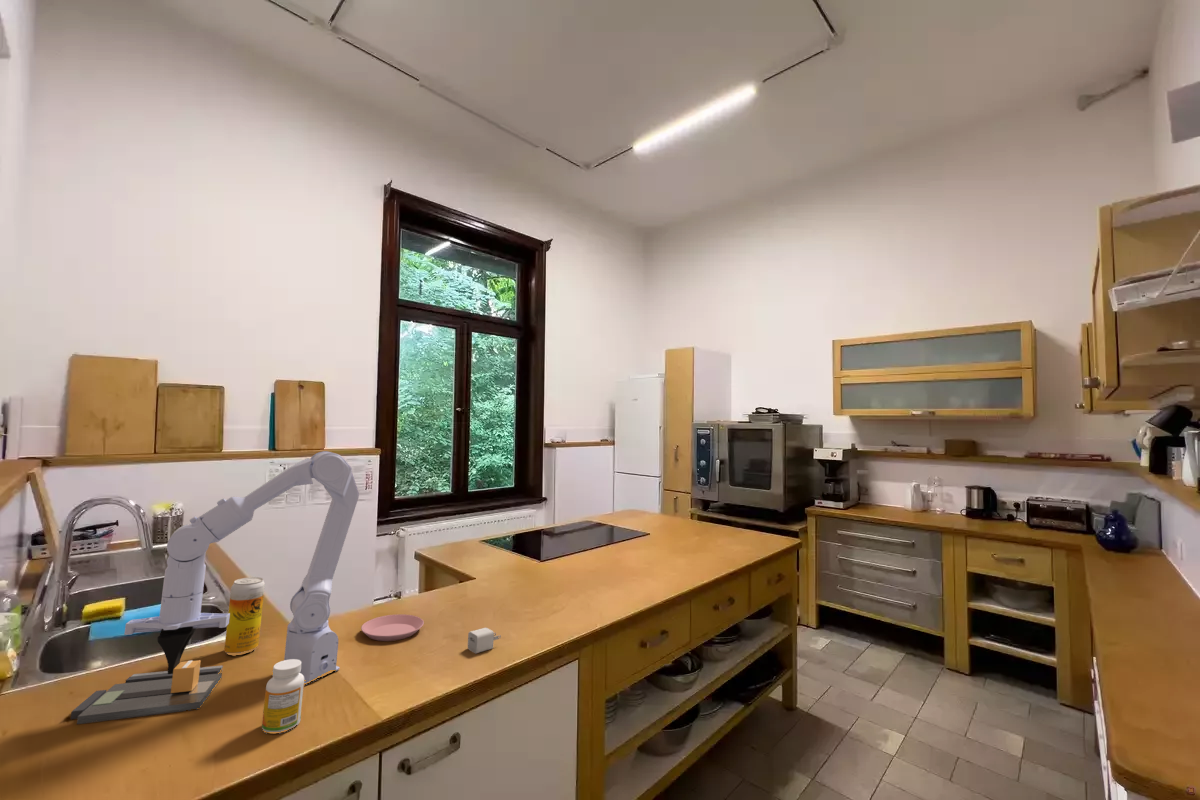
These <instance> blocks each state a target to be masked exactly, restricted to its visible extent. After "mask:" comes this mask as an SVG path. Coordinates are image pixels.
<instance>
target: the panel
mask: <svg viewBox="0 0 1200 800" xmlns="http://www.w3.org/2000/svg"><path fill="white" fill-rule="evenodd" d="M222 676H223V674H222V672H221V673H219V674H209V675H200V676H199V680H198V684H197V685H196V686H195V687H194V689H193V690H192V691H185V692H177V693H171V686H172V678H171V679H161V680H151V681H142V682H132V683H115V684H113V685H112V686H111V687H110V688H108V689H107V691H106V692H105V693H104V694H103V695H102V696H101V697H100V698H98V699H97V700H96V701H95V702H94V703H93V704H92V705H90V706H89V707H88V708H87V709H86V710H85V711H83V712H82V713H81V714H80V715H79V716H78V718H77V720H76V725H82V724H89V723H98V722H99V723H100V722H107V721H114V720H121V719H129V718H131V719H132V718H139V717H146V716H154V715H163V714H170V713H179V712H187V711H186V710H188V711H192V710H191V709H196V710H198V709H197V708H200V706H201V705H202V704H203V702H204V701H205V700H207V699H208V698H209V697H210V695H211V694H212V693H211V691H212V689H213V688H214V687H215V685H216V684H217V683H218V681H219V680H220V678H221V679H222ZM218 684H219V683H218ZM215 688H216V687H215ZM212 692H213V691H212ZM210 693H211V694H210ZM209 694H210V695H209ZM208 696H209V697H208ZM207 697H208V698H207ZM206 698H207V699H206ZM205 702H206V701H205ZM205 702H204V703H205ZM203 705H204V704H203ZM203 705H202V706H203ZM202 706H201V707H202ZM200 709H201V708H200Z"/></svg>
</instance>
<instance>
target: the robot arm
mask: <svg viewBox="0 0 1200 800" xmlns="http://www.w3.org/2000/svg"><path fill="white" fill-rule="evenodd" d="M313 479H314V480H316V481H317V482H318V483H320V484H321V485H322V486H323V488H324V489H325V490H326V493H328V495H329V497H330V498H331V501H330V504H329V508H328V510H327V513H326V516H325V518H324V522H323V525H322V529H321V531H320V535H319V536H318V540H317V544H316V547H315V549H314V553H313V555H312V558H311V561H310V563H309V564H310V565H309V568H308V570H307V573H306V575H305V576H304V578H303V580H302V583H301V585H300V587H299V589H298V590H297V591H296V592H295V593H294V595H293V596H292V598H291V599H290V602H289V603H290V604H289V608H290V611H291V613H292V615H293V617H292V620H290V622H289V623H288V624H287V629H286V637H285V638H286V639H285V648H284V649H285V650H284V660H289V659H297V660H300V661H301V671H300V672H299V673H301V674H302V675H303V676H304V680H306V681H304V683H307V682H309V681H311V680H313V679H315V678H317V677H318V676H321V675H322V674H324V673H326V672H328V671H330V670H336V671H335V672H337V671H339V670H340V666H339V665H337V662H338V651H339V637H338V635H337V633H336V632H335V631H333V630H331V628H330V626H329V622H330V621H329V618H330V615H331V605H330V598H331V594H332V589H333V588H332V587H333V579H334V576H335V572H336V569H337V566H338V563H339V560H340V558H341V555H342V551H343V549H344V548H343V547H344V544H345V541H346V539H347V538H346V537H347V535H348V532H349V528H350V525H351V522H352V520H353V516H354V513H355V510H356V507H357V503H358V501H359V496H360V491H359V489H358V486H357V483H356V480H355V476H354V474H353V468H352V466H351V465H350V464H349V463H348V462H347V460H346V459H345V458H344V457H343V456H342V455H340V454H338V453H335V452H333V451H327V450H325V451H324V450H323V451H319V452H317V453H315V454H313V455H312V456H311V457H308V458H305V459H302V460H301V461H299V462H297V463H295V464H293V465H291V466H290V467H288V468H286V469H284V470H283V471H282V472H280V473H279V474H277V475H275V476H274V477H273V478H271V479H270V480H268V481H267V482H265V483H263V484H262V485H260V486H259V487H258V488H256V489H255V490H253V491H251V492H249V494H247V495H246V496H230V497H229V498H227V499H226V498H225V497H224V498H223V497H222V498H221V499H220V500H218V501H217V502H216V504H217V505H216V506H214V507H212V508H211V509H209V510H208V511H206V512H204V513H203V514H200V515H199V516H198V517H197V516H196V515H195V516H193V517H191V518H190V519H189V522H190V524H188V523H187V524H185V525H182V526H180V527H178V528H176V530H174V532H173V533H172V534H171V536H170V537H169V539H168V541H167V544H166V550H167V554H168V557H167V560H166V565H167V567H166V568H165V571H164V577H163V584H162V585H163V586H162V591H161V592H162V594H161V601H160V608H159V609H160V610H159V616H152V617H145V618H137V619H136V618H135V619H131V620H129V621H128V622H126V623H125V627H124V628H125V629H124V635H125V636H127V635H133V634H137V633H150V632H151V633H152V632H160V633H159V635H158V636H157V638H156V641H157V643H158V645H159V646H160V647H161V650H162V651H163V653H164V656H165V658H166V663H167V666H168V668H167V671H168V674H173V669H174V668H175V667H176V666H177V665H178V664H179V663H180V662H181V658H182V656H183V653H184V651H185V649H186V648H187V645H188V644H189V642H190V640H191V639H192V637H193V635H194V633H196V631H197V630H198V629H206V628H219V629H223V628H227V625H228V624H229V618H230V613H228V612H226V613H216V612H215V613H213V612H212V613H211V612H202V604H203V603H202V602H203V595H204V585H205V580H206V579H205V577H206V569H207V565H206V563H205V561H206V554H207V553H206V552H207V551H208V549H209V547H210V545H211V544H214V543H219V542H220V541H222V540H223V539H224V538H226V537H228V536H229V535H231V534H232V533H235V532H236V531H237V530H238V529H240V528H241V527H243V526H245V525H246V524H248V523H249V522H251V521H252V520H253V518H254V513H255V511H256V510H257V509H259V508H260V507H262V506H264V505H265V504H267V503H269V502H271V501H272V500H274V499H276V498H277V497H279V496H281V495H282V494H285V492H287V491H289V490H290V489H292V488H293V487H296V486H305V485H313V484H314V483H313ZM284 660H283V661H284Z"/></svg>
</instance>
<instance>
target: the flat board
mask: <svg viewBox="0 0 1200 800" xmlns="http://www.w3.org/2000/svg"><path fill="white" fill-rule="evenodd" d="M223 667H224V665H216V666H215V665H213V666H204V667H200V671H199V676H200V675H209V674H218V673H219V672H220V670H221V669H222V668H223ZM222 670H223V669H222ZM172 677H173V674H168V670H164V671H155V672H154V671H153V672H145V673H133V674H132V675H131V676H129V677H128V678H126V679H125V683H132V682H142V681H151V680H161V679H171V678H172ZM107 691H108V689H100V690H96V691H94V692H93V693H92V694H90V695H89V696H88V697H87V698H86V699H84V701H83V702H80V704H79V705H78V706H76V707H75V708H74V709H73V710H71V713H70V720H76V719H77V718H78V716H79V715H80V714H81V713H82V712H83V711H85V710H86V709H87V708H88V707H89V706H90V705H92V704H93V703H94V702H95V701H96V700H97V699H98V698H100V697H101V696H102V695H103V694H104V693H105V692H107Z"/></svg>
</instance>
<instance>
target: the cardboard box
mask: <svg viewBox="0 0 1200 800" xmlns="http://www.w3.org/2000/svg"><path fill="white" fill-rule="evenodd" d="M201 662H202V661H201V659H199V660H192V659H191V660H188V661H180V663H179V664H178V665H177V666H176V667H175V668H174V669H173V677H172V686H171V693H177V692H185V691H192V690H193V689H194V687H195V686H196V685H197V684H198V680H199V671H200V668H201Z"/></svg>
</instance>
